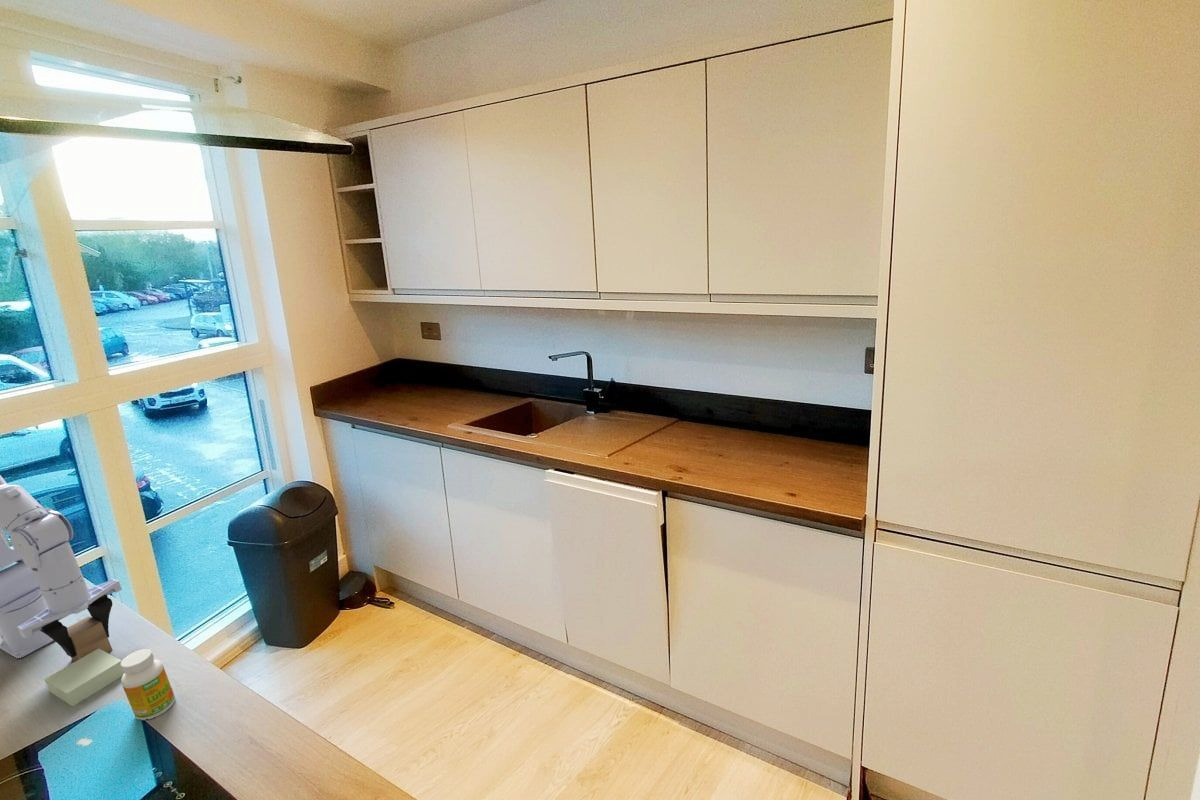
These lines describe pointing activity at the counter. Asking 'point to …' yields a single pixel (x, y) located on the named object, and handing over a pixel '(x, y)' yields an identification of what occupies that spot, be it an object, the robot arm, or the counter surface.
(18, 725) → the counter surface
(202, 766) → the counter surface
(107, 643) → the walnut block
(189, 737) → the counter surface
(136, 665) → the supplement bottle
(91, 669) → the sage block
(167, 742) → the counter surface
